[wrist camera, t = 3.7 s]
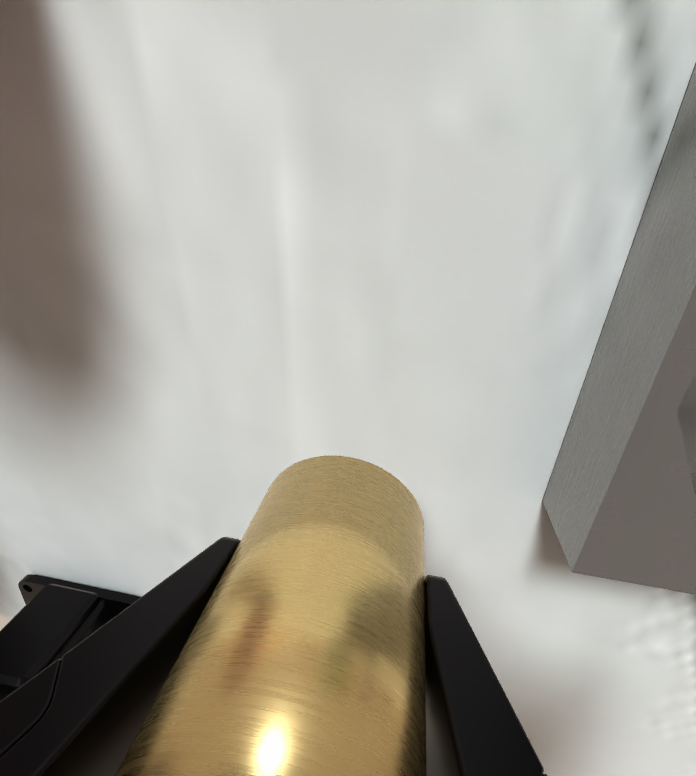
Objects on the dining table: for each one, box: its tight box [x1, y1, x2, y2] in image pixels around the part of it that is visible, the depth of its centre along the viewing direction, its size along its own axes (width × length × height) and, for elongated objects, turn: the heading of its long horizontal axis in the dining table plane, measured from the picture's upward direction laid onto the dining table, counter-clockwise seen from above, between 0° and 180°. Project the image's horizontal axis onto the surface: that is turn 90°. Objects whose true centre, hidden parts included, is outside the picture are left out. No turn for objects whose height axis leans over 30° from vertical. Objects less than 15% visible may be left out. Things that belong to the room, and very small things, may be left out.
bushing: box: [115, 456, 427, 776], centre depth 7 cm, size 4×4×7 cm
